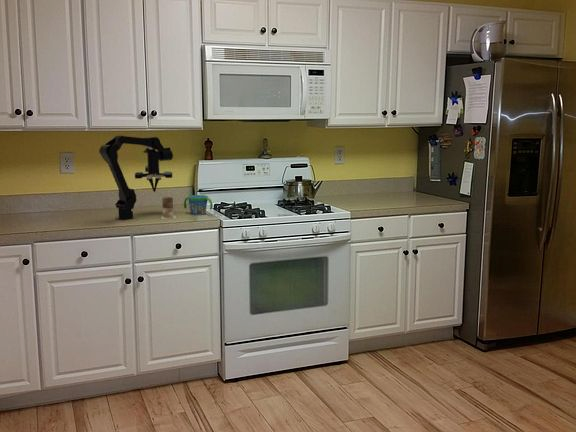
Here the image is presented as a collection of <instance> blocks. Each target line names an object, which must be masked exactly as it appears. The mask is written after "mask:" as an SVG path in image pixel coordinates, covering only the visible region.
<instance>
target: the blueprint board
mask: <svg viewBox="0 0 576 432" xmlns="http://www.w3.org/2000/svg"><path fill="white" fill-rule="evenodd" d="M160 217H161V220H166V219H170V218H163V215H162V216H160ZM173 219H177V218H176V215H174V218H173Z"/></svg>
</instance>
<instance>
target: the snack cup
mask: <svg viewBox="0 0 576 432" xmlns="http://www.w3.org/2000/svg"><path fill="white" fill-rule="evenodd" d="M187 201H188V205H189V210H190V215H195V216H196V215H197V216H198V215H205V214H206V212H207V205H208V202H209V210H210V211H211V210H213V202H212V199H211V198H210V197H209V196H208V195H205V194H198V195H197V194H194V195H193V194H192V195H188V196H187V197H185V198H184V201H183V208H184V209H187V207H188V206H187Z"/></svg>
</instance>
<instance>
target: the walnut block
mask: <svg viewBox="0 0 576 432" xmlns="http://www.w3.org/2000/svg"><path fill="white" fill-rule="evenodd" d="M161 199H162V201H161V202H162V209H163V208H173V209H174V197H173V196H162V197H161Z"/></svg>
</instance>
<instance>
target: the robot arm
mask: <svg viewBox="0 0 576 432" xmlns="http://www.w3.org/2000/svg"><path fill="white" fill-rule="evenodd" d="M124 144H126V145H136V146H137V145H138V146H142V147H145V150H143V154H144V153H145V154H147V165H144V166H145V167H144V168H145V169H144V172H145V173H144V172H143V171H136V172H135V173H134V179H136V180H137V179H143V178H146V181H148V182H149V184H150V185H151V188H152V191H153V192H154V193H155V192H156V189H157V187H158V183H159V181H160V180H161V181H162V177H165V178H166V179H172V178H173V172H172V171H164V172H160V162H164V161H165V162H167V161H172V160H173V159H174V158H173V157H174V154H173V151H172V150H171V147H164V145H163V144H162V143H161V140H160V138H159V137H157V136H144V137H135V136H126V135H121V134H120V135H119V134H118V135H117V134H116V136H114V137H113V138H112V139H110V140H109V141H107V142H106V143H104V144H103V145H101V146H100V147H99V150H98V151H99V154H100V156H101V157H102V159H103V161H105V163H106V164H107V165H108V167H109V170H110V172H111V174H112V177H113V179H114V182H115V184H116V186H117V188H118V200H117V201H116V203H115V208H116V209H118V211H117V212H118V220H122V221H127V220H132V219H134V210H133V209H134V207H135V204H136V203H137V194H136V192H135V189H134V188H130V187H129V185H128V183H127V181H126V178H125V176H124V173H123V171H122V168H121V166H120V164H119V162H118V161H119V159H118V157H119V154H118V151H119V150H120V149H121V148H122V146H123V145H124ZM154 177H155V178H154Z"/></svg>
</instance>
